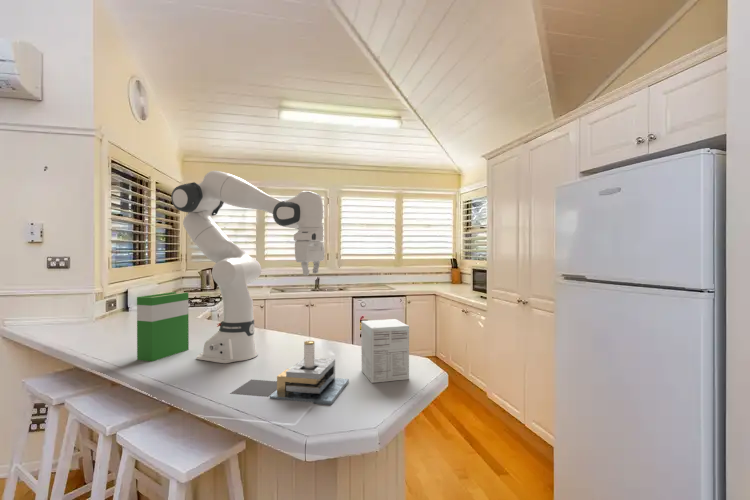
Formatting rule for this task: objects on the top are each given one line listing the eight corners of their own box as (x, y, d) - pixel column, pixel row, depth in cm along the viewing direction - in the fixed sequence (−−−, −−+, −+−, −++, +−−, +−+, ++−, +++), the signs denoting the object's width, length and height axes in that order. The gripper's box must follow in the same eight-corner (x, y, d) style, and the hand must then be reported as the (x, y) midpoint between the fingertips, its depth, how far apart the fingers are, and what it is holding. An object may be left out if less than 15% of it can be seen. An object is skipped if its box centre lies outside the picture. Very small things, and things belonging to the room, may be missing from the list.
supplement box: (410, 379, 123) (410, 325, 123) (371, 383, 119) (371, 328, 119) (396, 367, 136) (396, 318, 136) (360, 370, 132) (360, 320, 132)
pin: (302, 390, 111) (302, 342, 111) (306, 387, 114) (306, 340, 114) (312, 391, 110) (312, 343, 110) (315, 387, 113) (315, 340, 113)
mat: (229, 394, 110) (229, 393, 110) (251, 380, 122) (251, 379, 122) (268, 398, 108) (268, 396, 108) (286, 383, 120) (286, 382, 120)
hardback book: (174, 348, 162) (174, 291, 162) (188, 349, 160) (188, 292, 160) (137, 359, 145) (136, 297, 145) (152, 361, 143) (151, 297, 143)
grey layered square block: (269, 399, 107) (269, 373, 107) (295, 378, 124) (295, 355, 124) (331, 404, 103) (331, 377, 103) (348, 382, 121) (348, 358, 121)
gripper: (312, 237, 149) (312, 272, 149) (291, 235, 129) (291, 276, 129) (328, 236, 148) (328, 272, 148) (309, 235, 127) (309, 276, 127)
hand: (311, 274), depth 138 cm, fingers open, 8 cm apart
